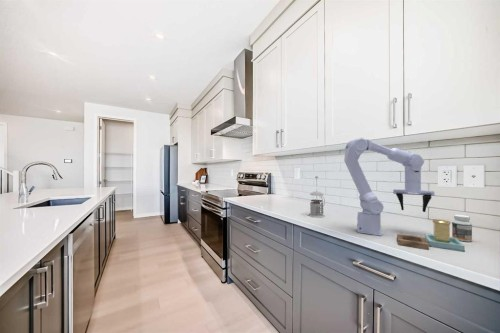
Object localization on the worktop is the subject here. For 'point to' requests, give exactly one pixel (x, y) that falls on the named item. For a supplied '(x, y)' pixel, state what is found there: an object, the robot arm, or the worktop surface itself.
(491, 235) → the worktop surface
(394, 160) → the robot arm
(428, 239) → the tray
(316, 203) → the french press
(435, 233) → the brass pin
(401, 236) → the holder block
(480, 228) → the worktop surface
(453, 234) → the pill bottle
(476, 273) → the worktop surface
